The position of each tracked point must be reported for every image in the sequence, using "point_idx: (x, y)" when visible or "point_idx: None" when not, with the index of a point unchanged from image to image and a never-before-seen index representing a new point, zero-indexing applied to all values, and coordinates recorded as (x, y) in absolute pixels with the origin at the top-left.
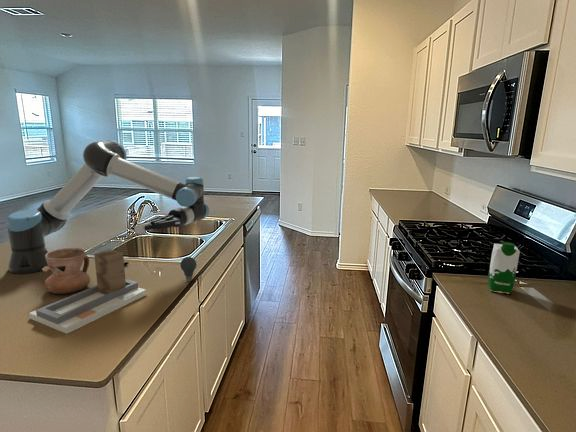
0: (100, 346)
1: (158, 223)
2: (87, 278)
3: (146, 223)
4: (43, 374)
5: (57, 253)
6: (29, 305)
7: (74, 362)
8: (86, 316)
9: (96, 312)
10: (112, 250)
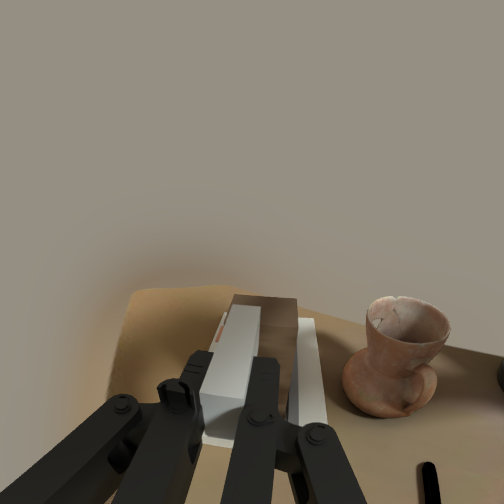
0: (162, 314)
1: (115, 401)
2: (359, 394)
3: (227, 366)
4: (189, 287)
5: (441, 325)
6: (359, 341)
7: (173, 297)
8: (219, 329)
9: (215, 341)
10: (277, 324)
